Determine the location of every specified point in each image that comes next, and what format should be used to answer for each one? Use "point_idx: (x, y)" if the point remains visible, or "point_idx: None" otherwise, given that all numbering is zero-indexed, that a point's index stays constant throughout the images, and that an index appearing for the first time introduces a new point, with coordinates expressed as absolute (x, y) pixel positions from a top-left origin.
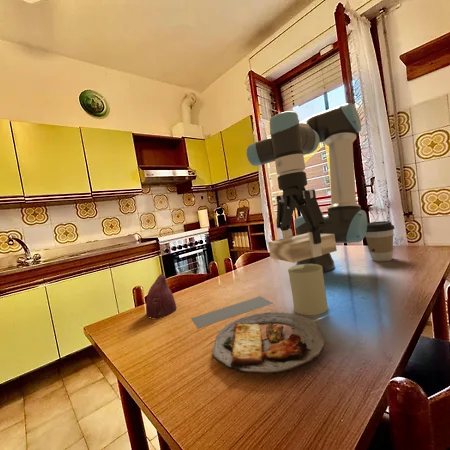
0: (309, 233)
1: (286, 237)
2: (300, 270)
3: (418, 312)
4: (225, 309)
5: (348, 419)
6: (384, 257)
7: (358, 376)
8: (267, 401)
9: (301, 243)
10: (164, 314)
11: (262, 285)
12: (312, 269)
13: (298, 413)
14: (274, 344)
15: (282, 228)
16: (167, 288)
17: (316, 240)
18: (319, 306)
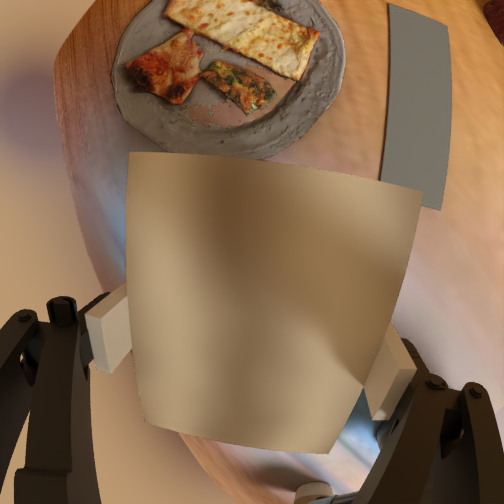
0: (95, 311)
1: (380, 348)
2: None
3: None
4: (440, 93)
5: (63, 69)
6: (302, 489)
7: (79, 119)
8: (125, 10)
9: (129, 235)
10: (488, 13)
11: (482, 275)
12: None
13: (93, 32)
14: (193, 55)
15: (422, 384)
16: None
17: (95, 299)
18: None
